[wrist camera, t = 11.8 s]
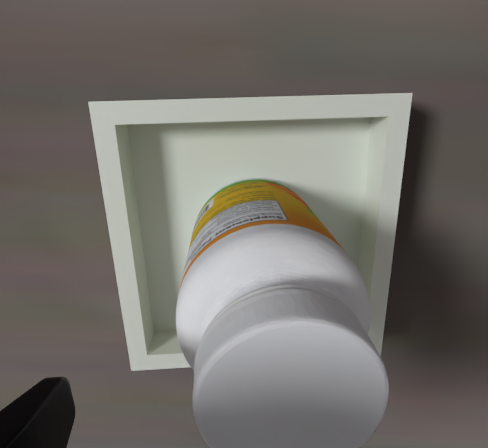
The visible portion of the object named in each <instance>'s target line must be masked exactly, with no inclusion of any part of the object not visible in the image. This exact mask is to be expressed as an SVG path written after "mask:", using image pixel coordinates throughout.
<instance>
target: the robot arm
mask: <svg viewBox="0 0 488 448" xmlns="http://www.w3.org/2000/svg"><path fill="white" fill-rule="evenodd" d="M74 419H75V405H74V401H73V396H72V392H71V388H70V384H69V381H68V379H67V378H66V377H50V378H45V379H43V380H41V381H40V382H39V383H37V384H36V385H35V386H33V387H32V388H31V389H29V390H28V391H27V392H25V393H24V394H23V395H21V396H20V397H19V398H17V399H16V400H14V401H13V402H12V403H10V404H9V405H8V406H6V407H5V408H4V409H2V410H1V411H0V448H66V447H67V443H68V440H69V436H70V433H71V430H72V426H73V423H74Z"/></svg>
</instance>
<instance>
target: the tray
mask: <svg viewBox="0 0 488 448" xmlns="http://www.w3.org/2000/svg"><path fill="white" fill-rule="evenodd" d="M411 101H412V93H391V94H355V95H319V96H282V97H246V98H209V99H173V100H136V101H100V102H88V103H89V110H90V116H91V122H92V128H93V135H94V141H95V147H96V153H97V160H98V166H99V172H100V178H101V185H102V191H103V197H104V203H105V210H106V216H107V222H108V228H109V235H110V241H111V247H112V253H113V259H114V266H115V272H116V278H117V284H118V291H119V297H120V303H121V309H122V316H123V322H124V328H125V334H126V341H127V347H128V353H129V359H130V366H131V371H136V370H152V369H169V368H185V367H190V365H189V364H188V362H187V360H186V359H185V357H184V354H183V352H182V350H181V347H180V344H179V340H178V336H177V330H176V307H177V300H178V294H179V289H180V285H181V281H182V277H183V273H184V268H185V264H186V259H187V255H188V251H189V246H190V242H191V237H192V233H193V229H194V225H195V222H196V219H197V217H198V214H199V212H200V210H201V208H202V207H203V205H204V204H205V203H206V201H207V200H208V199H209V198H210V197H211V196H212V195H213V194H214V193H215V192H217V191H218V190H219V189H221V188H222V187H224V186H226V185H228V184H230V183H232V182H235V181H238V180H243V179H249V178H263V179H269V180H273V181H276V182H279V183H281V184H284V185H285V186H287V187H289V188H290V189H292V190H293V191H294V192H295V193H296V194H298V195H299V196H300V197H301V198H302V199H303V200H304V202H305V203H306V204H307V205H308V206H309V207H310V209H311V210H312V211H313V212H314V214H315V215H316V216H317V217H318V219H319V220H320V221H321V222H322V223H323V225H324V226H325V227H326V228H327V230H328V231H329V232H330V233H331V234H332V236H333V237H334V238H335V239H336V241H337V242H338V243H339V244H340V246H341V247H342V248H343V249H344V250H345V252H346V253H347V254H348V255H349V257H350V258H351V259H352V261H353V262H354V264H355V265H356V267H357V269H358V270H359V272H360V273H361V275H362V277H363V280H364V282H365V284H366V287H367V291H368V294H369V300H370V310H371V312H370V326H369V331H368V336H369V337H370V339H371V341H372V342H373V344H374V346H375V348H376V349H377V351H378V353H379V355H380V356H381V350H382V342H383V334H384V325H385V317H386V309H387V300H388V292H389V284H390V275H391V267H392V259H393V250H394V242H395V234H396V226H397V217H398V209H399V201H400V192H401V184H402V176H403V167H404V159H405V151H406V142H407V134H408V126H409V118H410V109H411Z"/></svg>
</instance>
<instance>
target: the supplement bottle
mask: <svg viewBox="0 0 488 448" xmlns="http://www.w3.org/2000/svg"><path fill="white" fill-rule="evenodd" d="M370 312H371V310H370V300H369V294H368V291H367V287H366V284H365V282H364V280H363V277H362V275H361V273H360V272H359V270H358V269H357V267H356V265H355V264H354V262H353V261H352V259H351V258H350V257H349V255H348V254H347V253H346V252H345V250H344V249H343V248H342V247H341V246H340V244H339V243H338V242H337V241H336V239H335V238H334V237H333V236H332V234H331V233H330V232H329V231H328V230H327V228H326V227H325V226H324V225H323V223H322V222H321V221H320V220H319V219H318V217H317V216H316V215H315V214H314V212H313V211H312V210H311V209H310V207H309V206H308V205H307V204H306V203H305V202H304V200H303V199H302V198H301V197H300V196H299V195H298V194H296V193H295V192H294V191H293V190H292V189H290V188H289V187H287V186H285V185H284V184H281V183H279V182H276V181H273V180H269V179H263V178H249V179H243V180H238V181H235V182H232V183H230V184H228V185H226V186H224V187H222V188H221V189H219V190H218V191H217V192H215V193H214V194H213V195H212V196H211V197H210V198H209V199H208V200H207V201H206V203H205V204H204V205H203V207H202V208H201V210H200V212H199V214H198V217H197V219H196V222H195V225H194V229H193V233H192V237H191V242H190V246H189V251H188V255H187V259H186V264H185V268H184V273H183V277H182V281H181V285H180V289H179V294H178V300H177V307H176V330H177V336H178V340H179V344H180V347H181V350H182V352H183V354H184V357H185V359H186V360H187V362H188V364H189V365H190V367H191V368H192V369H193V371H194V387H193V413H194V418H195V422H196V425H197V428H198V430H199V432H200V434H201V436H202V438H203V439H204V441H205V442H206V444H207V445H208V446H209V447H210V448H360V447H361V446H362V445H363V444H364V443H365V442H366V441H367V440H368V439H369V438H370V437H371V435H372V434H373V433H374V432H375V430H376V429H377V427H378V425H379V424H380V422H381V420H382V418H383V416H384V413H385V410H386V407H387V402H388V396H389V384H388V376H387V372H386V369H385V366H384V363H383V360H382V359H381V357H380V355H379V353H378V351H377V349H376V348H375V346H374V344H373V342H372V341H371V339H370V337H369V336H368V331H369V326H370Z"/></svg>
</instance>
